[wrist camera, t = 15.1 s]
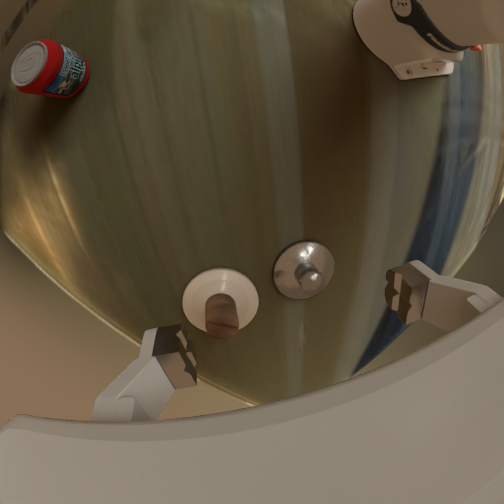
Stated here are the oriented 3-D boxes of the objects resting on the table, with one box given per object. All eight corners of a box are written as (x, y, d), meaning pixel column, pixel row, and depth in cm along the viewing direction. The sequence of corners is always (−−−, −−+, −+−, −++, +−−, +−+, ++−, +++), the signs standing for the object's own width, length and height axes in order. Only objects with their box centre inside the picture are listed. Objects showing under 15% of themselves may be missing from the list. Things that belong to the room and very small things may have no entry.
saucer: (249, 259, 41) (250, 263, 40) (263, 320, 47) (264, 325, 45) (172, 277, 41) (171, 282, 40) (195, 335, 46) (195, 340, 45)
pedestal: (329, 233, 42) (343, 246, 37) (333, 287, 46) (345, 302, 41) (267, 248, 41) (275, 263, 37) (277, 302, 45) (284, 320, 41)
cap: (240, 298, 42) (245, 321, 37) (229, 321, 44) (232, 345, 39) (211, 289, 41) (212, 312, 36) (201, 313, 43) (200, 337, 37)
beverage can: (89, 95, 28) (45, 85, 17) (51, 102, 27) (3, 98, 16) (95, 52, 25) (56, 28, 14) (57, 60, 24) (13, 45, 13)
